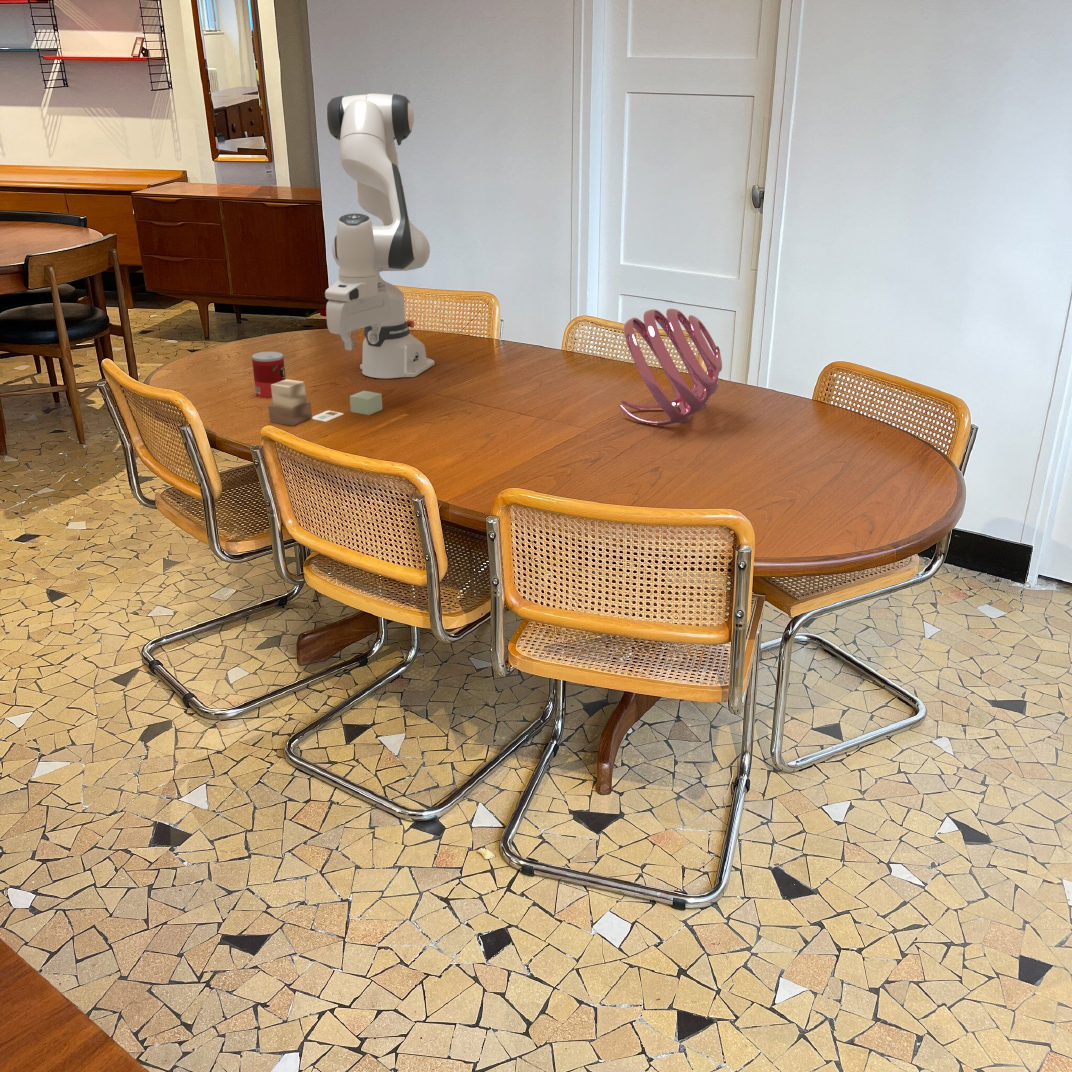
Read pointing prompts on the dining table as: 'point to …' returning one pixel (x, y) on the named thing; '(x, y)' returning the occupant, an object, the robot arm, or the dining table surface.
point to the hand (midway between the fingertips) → (362, 345)
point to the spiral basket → (683, 393)
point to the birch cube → (288, 393)
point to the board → (326, 416)
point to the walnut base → (290, 414)
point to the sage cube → (366, 402)
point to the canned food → (267, 372)
